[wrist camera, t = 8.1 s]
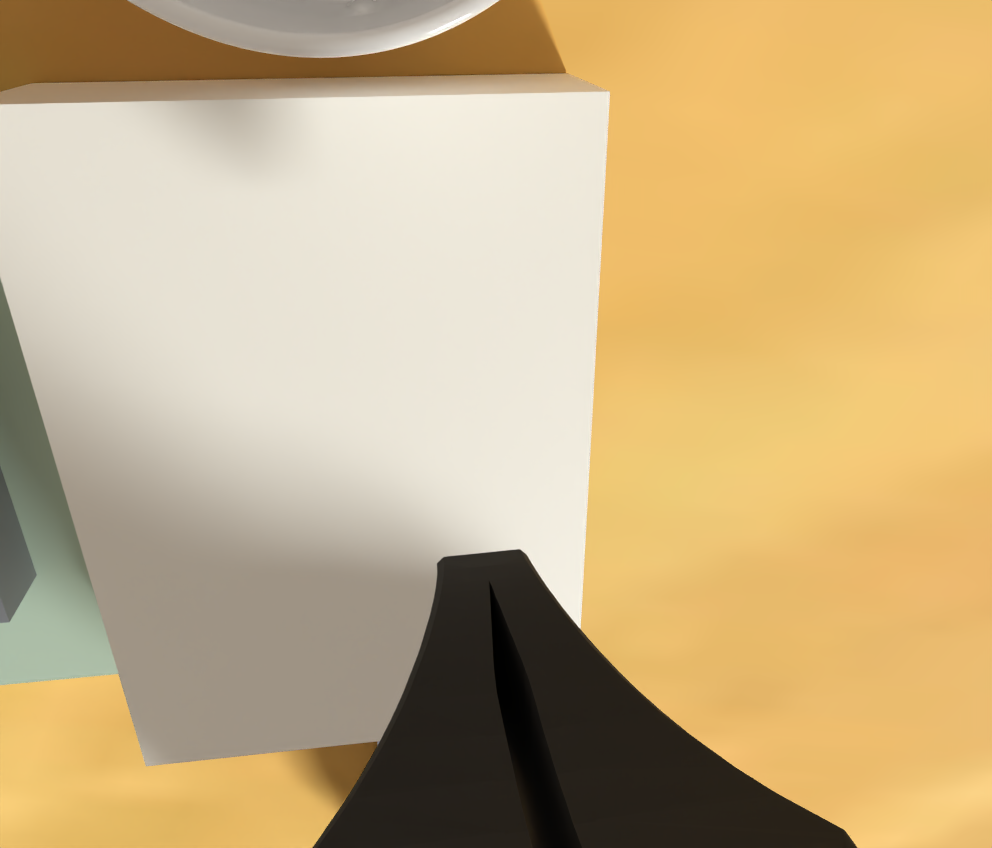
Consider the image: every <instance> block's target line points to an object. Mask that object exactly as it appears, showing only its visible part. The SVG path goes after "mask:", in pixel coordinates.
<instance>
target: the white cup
mask: <svg viewBox="0 0 992 848" xmlns="http://www.w3.org/2000/svg"><path fill="white" fill-rule="evenodd" d="M128 1H129V2H131V3H133V4H134V5H136V6H138V7H140V8H141V9H143V10H145V11H147V12H149V13H151V14H153V15H155V16H157V17H159V18H161V19H163V20H165V21H167V22H169V23H171V24H173V25H176V26H178V27H180V28H182V29H185V30H187V31H190V32H192V33H195V34H198V35H200V36H203V37H206V38H209V39H212V40H215V41H218V42H221V43H224V44H228V45H231V46H235V47H239V48H243V49H248V50H252V51H257V52H262V53H268V54H275V55H283V56H293V57H309V58H331V57H348V56H358V55H365V54H371V53H377V52H382V51H387V50H391V49H396V48H399V47H403V46H407V45H410V44H413V43H416V42H419V41H422V40H425V39H428V38H430V37H433V36H435V35H438V34H440V33H443V32H445V31H447V30H449V29H451V28H453V27H456V26H458V25H459V24H461V23H463V22H465V21H467V20H469V19H471V18H472V17H474V16H476V15H478V14H479V13H481V12H483V11H484V10H486V9H487V8H489V7H490V6H492V5H493V4H495V3H496V2H498V1H499V0H128Z"/></svg>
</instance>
